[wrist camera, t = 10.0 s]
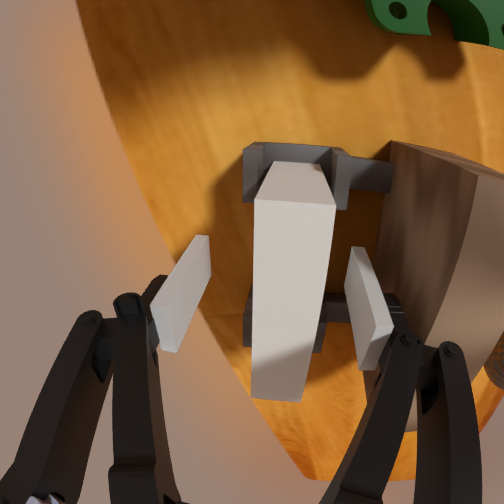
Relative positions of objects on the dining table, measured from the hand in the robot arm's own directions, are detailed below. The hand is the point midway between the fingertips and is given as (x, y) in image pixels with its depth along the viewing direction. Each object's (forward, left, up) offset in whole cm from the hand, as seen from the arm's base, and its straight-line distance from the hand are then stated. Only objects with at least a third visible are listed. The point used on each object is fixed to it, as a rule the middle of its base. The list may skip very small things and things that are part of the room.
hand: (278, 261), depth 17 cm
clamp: (-18, +9, -5) cm, 21 cm away
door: (+1, +1, -4) cm, 5 cm away
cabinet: (+1, +5, -5) cm, 7 cm away
